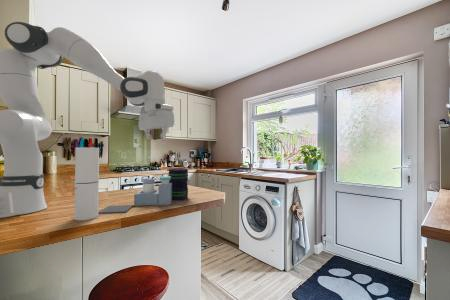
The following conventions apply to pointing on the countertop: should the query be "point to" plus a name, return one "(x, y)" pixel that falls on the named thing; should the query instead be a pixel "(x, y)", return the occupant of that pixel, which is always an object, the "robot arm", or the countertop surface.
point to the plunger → (165, 179)
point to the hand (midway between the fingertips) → (155, 138)
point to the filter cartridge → (148, 185)
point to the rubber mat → (116, 209)
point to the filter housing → (155, 196)
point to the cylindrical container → (86, 183)
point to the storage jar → (179, 184)
